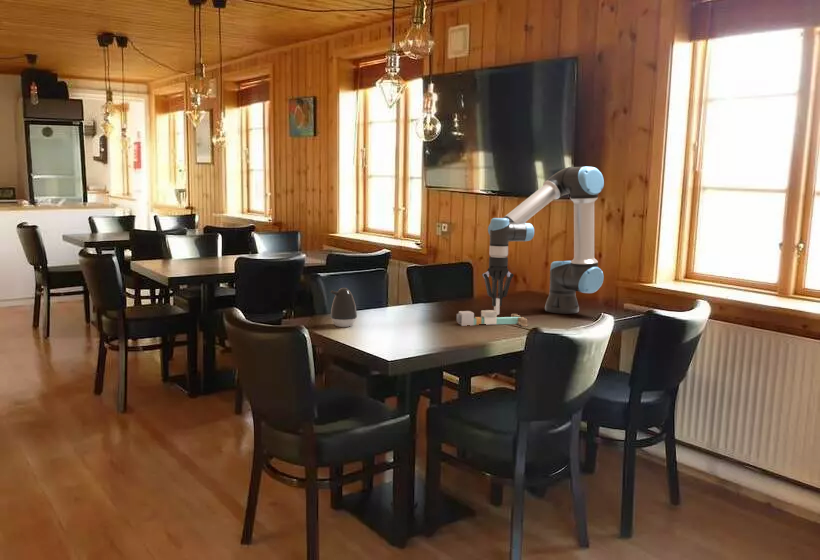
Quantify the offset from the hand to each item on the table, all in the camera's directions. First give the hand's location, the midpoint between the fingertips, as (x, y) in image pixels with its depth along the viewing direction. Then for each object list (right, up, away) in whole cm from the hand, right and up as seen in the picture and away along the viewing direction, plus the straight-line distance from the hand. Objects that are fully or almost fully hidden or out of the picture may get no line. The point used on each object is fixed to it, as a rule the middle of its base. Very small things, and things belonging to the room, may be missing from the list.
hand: (496, 313), depth 290 cm
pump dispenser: (-61, -5, -10) cm, 62 cm away
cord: (-3, -4, 0) cm, 5 cm away
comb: (+9, -4, +2) cm, 10 cm away
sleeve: (-3, -4, 0) cm, 5 cm away
